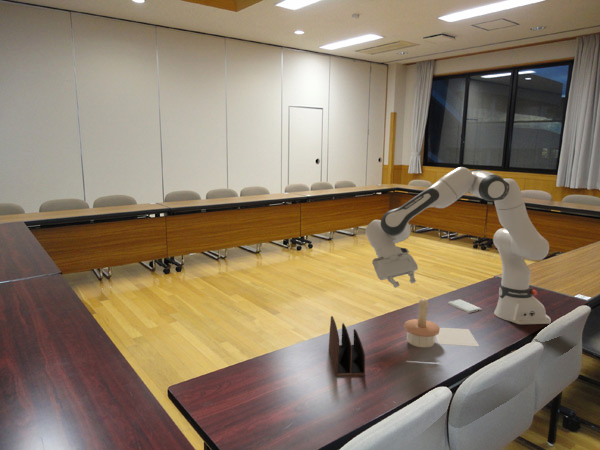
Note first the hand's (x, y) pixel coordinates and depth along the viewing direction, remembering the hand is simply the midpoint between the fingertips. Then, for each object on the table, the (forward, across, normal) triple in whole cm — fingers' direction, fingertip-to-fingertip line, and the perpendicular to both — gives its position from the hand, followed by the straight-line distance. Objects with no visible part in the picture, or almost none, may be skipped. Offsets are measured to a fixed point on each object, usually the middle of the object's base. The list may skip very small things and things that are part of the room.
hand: (405, 284), depth 169 cm
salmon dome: (+18, -2, +3) cm, 18 cm away
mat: (+25, +13, +4) cm, 28 cm away
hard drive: (+13, +45, +17) cm, 49 cm away
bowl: (+22, -2, +7) cm, 23 cm away
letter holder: (+18, -35, +10) cm, 41 cm away
